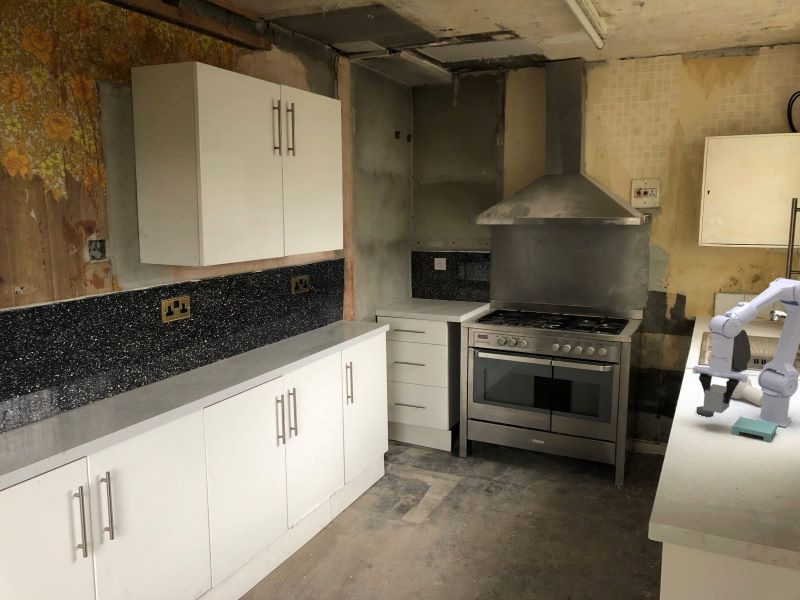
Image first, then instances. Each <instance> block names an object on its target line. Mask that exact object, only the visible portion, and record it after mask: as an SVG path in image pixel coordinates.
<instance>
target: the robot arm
mask: <svg viewBox="0 0 800 600" xmlns="http://www.w3.org/2000/svg"><path fill="white" fill-rule="evenodd" d="M768 285H769V286H768V287H767V288H766V289H765V290H763V291H762V292H761V293H759V294H758V295H757V296H756V297H754V298H753V299H752V300H750V301H749V302H748V301H743V302H742V301H739V302H738V303H737V305H736V306H734V307H733V308H731V309H729V310H727V311H726V312H725V313H723V315H721V314H718V315H715V316H714V317H712V318H711V319H710V322H709V324H708V325H707V326H708V328H707V329H708V332H710V338H711V347H710V357H709V359H710V360H709V366H708V367H707V366H700V365H699V366H698V365H695V366H692V374H696V375H697V374H698V375H699V376H698V380H699V382H700V384H701V386H702V389H703V393H704V394H705V389H707V388H708V387H710V386H711V385H712V384H711V383H712V379H713V378H714V377H715V378H721V379H726V380H727V381H726V382H725V383H726V399H725V404H729V405H730V403H731V399H732V397H731V396H732V394H733V392H734V390H735V388H736V387H737V385H738V384H739V382H740V381H741V382H743V383H746V382H747V379H749V375H748V374H743V373H740V372H736V371H734V370H732V369H731V365H732V354H733V344H734V337H735V336H737V335H738V334H739V332H740V330H741V329H743V328H744V326H746V325H747V324H748V323H751V321H753V320H754V319H756V318H757V316H758V313H759V312H760V311H761V310H763V309H765V308H767V307H769V306H770V305H772V304H774V303H776V302H777V301H778V302H779V303H781V304H782V305H783V306H784V308H785V309H786V311H787V312H786V316H785V319H784V323H783V325H782V329H781V332H780V335H779V339H778V342H777V346H776V348H775V352H774V355H773V359H772V360H771V361H769V362H767V363H765V364H764V366H763V368H762V370H761V371H760V373H759V374H758V377H757V383H758V385H759V386H760V387H761V389H760V391H762V392H763V397H762V406H761V408H760V414H759V416H758V418H757V419H756V420H759V421H763V422H768V423H773V424H778V426H777V427H783V428H787V426H788V425H789V423H790V422H791V420H792V417H789V408H790V399H791V398H792V397H793V395H794V394H796V392H797V390H798V388H799V377H800V374H799V371H797V369H796V367H795V366H794V364H795V360H796V357H797V353H798V350H799V347H800V280H795V279H791V278H790V279H789V278H785V277H778V278H775V280H774V281H771V282H769V284H768Z"/></svg>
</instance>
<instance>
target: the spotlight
mask: <svg viewBox="0 0 800 600" xmlns="http://www.w3.org/2000/svg"><path fill="white" fill-rule="evenodd" d="M762 397H763V391H762V390H761V389H758V388H757V387H754V386H752V381H751V379H749V378H748V379H747V382H746V383H743V382H741V381H740V382H739V384H738V385H737V387H736V388H735V390H734V392H733V394H732V396H731V398H734V399H735V400H737V399H739V400H744V399H745V400H747V401H749V402H751V403H753V404H755V405H756V406H758V407H761V406H762Z"/></svg>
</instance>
